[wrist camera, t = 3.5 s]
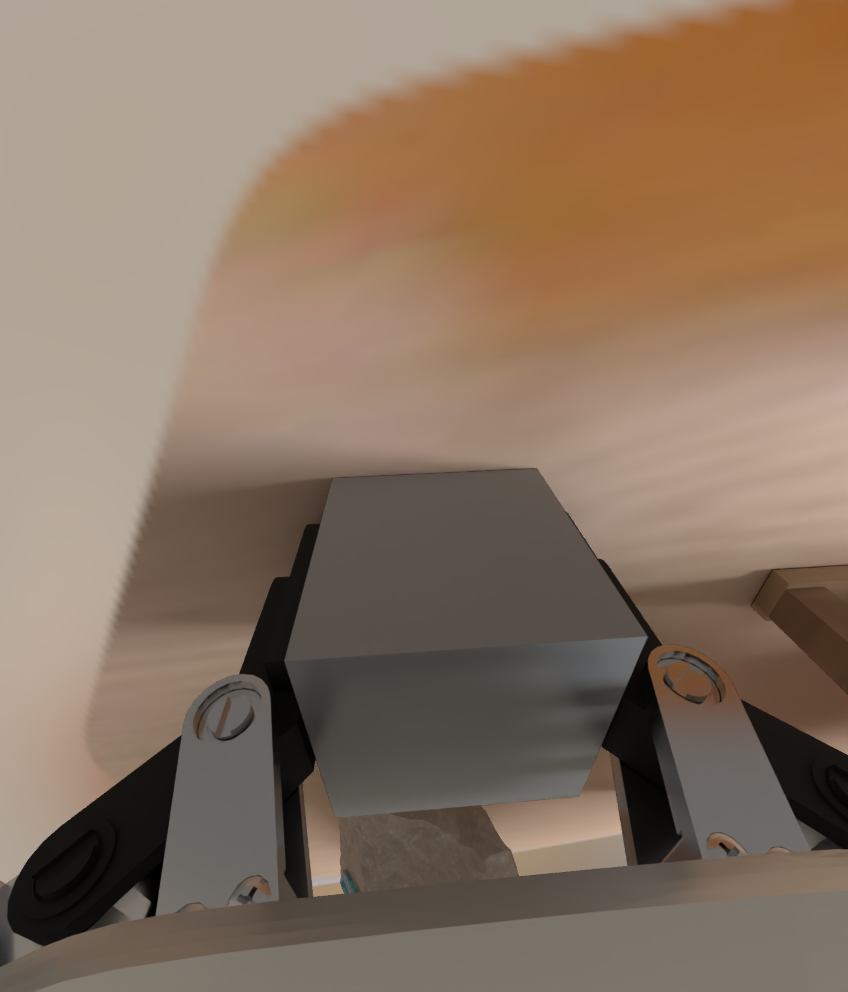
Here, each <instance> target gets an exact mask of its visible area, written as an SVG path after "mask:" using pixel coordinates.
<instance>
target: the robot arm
mask: <svg viewBox="0 0 848 992" xmlns="http://www.w3.org/2000/svg"><path fill="white" fill-rule="evenodd" d="M566 513H567V512H566ZM567 515H568V516H569V514H568V513H567ZM569 518H570V519H571V517H570V516H569ZM571 521H572V522H573V520H572V519H571ZM573 524H574V525H575V523H574V522H573ZM575 527H576V528H577V526H576V525H575ZM319 528H320V524H308V525H306V527H305V530H304V533H303V536H302V539H301V543H300V546H299V549H298V552H297V555H296V558H295V562H294V565H293V568H292V571H291V574H290V577H276V578H275V579H274V581H273V583H272V585H271V587H270V590H269V593H268V596H267V598H266V601H265V604H264V607H263V609H262V612H261V615H260V618H259V621H258V623H257V626H256V629H255V632H254V634H253V637H252V640H251V643H250V645H249V648H248V651H247V654H246V656H245V659H244V662H243V665H242V668H241V670H240V673H239V675H234V676H229V677H227V678H224V679H222V680H220V681H217V682H216V683H214V684H213V685H211V686H210V687H209V688H207V689H206V690H205V691H204V692H203V693H202V694H201V695H200V696H199V697H198V698H197V699H196V700H195V701H194V703H193V704H192V706H191V707H190V709H189V711H188V712H187V715H186V718H185V721H184V724H183V730H182V735H181V736H180V737H178V738H177V739H176V740H174V741H173V742H172V743H170V744H169V745H168V746H166V747H165V748H164V749H162V750H161V751H160V752H158V753H157V754H156V755H154V756H153V757H152V758H150V759H149V760H148V761H146V762H145V763H144V764H142V765H141V766H140V767H139V768H137V769H136V770H135V771H133V772H132V773H131V774H129V775H128V776H127V777H125V778H124V779H123V780H121V781H120V782H119V783H117V784H116V785H115V786H113V787H112V788H111V789H109V790H108V791H107V792H105V793H104V794H103V795H101V796H100V797H99V798H97V799H96V800H95V801H94V802H92V803H91V804H90V805H88V806H87V807H86V808H84V809H83V810H82V811H80V812H79V813H78V814H76V815H75V816H74V817H72V818H71V819H70V820H68V821H67V822H66V823H65V824H63V825H62V826H60V827H59V828H58V829H57V830H56V831H55V832H54V833H53V834H51V835H50V836H49V837H48V838H47V839H46V840H45V841H44V842H43V843H42V844H41V845H40V846H39V847H38V849H37V850H36V851H35V852H34V853H33V854H32V856H31V857H30V858H29V859H28V861H27V862H26V864H25V865H24V867H23V869H22V870H21V872H20V874H19V875H18V876H16V877H15V878H13V879H12V880H11V881H9V882H8V883H6V884H5V883H3V882H2V881H0V992H848V755H846V754H844V753H842V752H841V751H839V750H837V749H835V748H833V747H831V746H829V745H827V744H825V743H823V742H821V741H819V740H818V739H816V738H814V737H812V736H810V735H808V734H806V733H804V732H802V731H800V730H798V729H796V728H795V727H793V726H791V725H789V724H787V723H785V722H783V721H781V720H779V719H777V718H775V717H773V716H772V715H770V714H768V713H766V712H764V711H762V710H760V709H758V708H756V707H754V706H752V705H750V704H749V703H747V702H745V701H743V700H741V699H740V698H739V696H738V694H737V691H736V689H735V687H734V685H733V683H732V682H731V680H730V678H729V677H728V675H727V674H726V672H725V671H724V670H723V669H722V668H721V667H720V666H719V665H718V664H717V663H715V662H714V661H713V660H711V659H710V658H708V657H707V656H705V655H704V654H702V653H700V652H698V651H696V650H693V649H691V648H688V647H684V646H680V645H668V644H667V645H663V646H662V644H661V643H660V641H659V640H658V638H657V637H656V635H655V634H654V632H653V631H652V629H651V628H650V626H649V625H648V623H647V622H646V621H645V619H644V618H643V616H642V615H641V613H640V612H639V610H638V609H637V607H636V606H635V604H634V603H633V601H632V600H631V599H630V597H629V596H628V594H627V593H626V591H625V590H624V588H623V587H622V585H621V584H620V582H619V581H618V579H617V578H616V577H615V575H614V574H613V572H612V571H611V569H610V568H609V566H608V565H607V564H606V563H605V561H604V560H602V559H598V558H597V557H596V555H595V554H594V552H593V551H592V549H591V548H590V546H589V545H588V543H587V542H586V540H585V539H584V537H583V536H582V534H581V533H580V531H579V530H578V528H577V530H578V531H579V533H580V534H581V536H582V537H583V539H584V540H585V542H586V543H587V545H588V546H589V548H590V549H591V551H592V553H593V554H594V556H595V557H596V559H597V560H598V562H599V563H600V565H601V566H602V568H603V569H604V571H605V572H606V574H607V575H608V577H609V578H610V580H611V581H612V583H613V584H614V586H615V587H616V589H617V590H618V592H619V593H620V595H621V596H622V598H623V600H624V601H625V603H626V604H627V606H628V607H629V609H630V610H631V612H632V613H633V615H634V616H635V618H636V619H637V621H638V622H639V624H640V625H641V627H642V628H643V630H644V631H645V633H646V634H647V636H648V637H647V639H646V642H645V644H644V646H643V649H642V651H641V653H640V656H639V658H638V660H637V663H636V665H635V667H634V670H633V672H632V675H631V677H630V679H629V682H628V684H627V686H626V689H625V691H624V693H623V696H622V698H621V700H620V703H619V705H618V707H617V710H616V712H615V714H614V717H613V719H612V721H611V724H610V726H609V728H608V731H607V733H606V735H605V738H604V740H603V742H602V747H603V748H604V749H606V750H607V751H609V752H610V759H611V765H612V772H613V778H614V784H615V790H616V797H617V803H618V809H619V816H620V822H621V828H622V834H623V841H624V847H625V853H626V859H627V866H623V867H613V868H601V869H591V870H580V871H570V872H560V873H549V874H539V875H530V876H518V877H508V878H498V879H487V880H477V881H467V882H457V883H446V884H436V885H426V886H416V887H406V888H396V889H386V890H377V891H367V892H357V893H347V894H337V895H328V896H318V897H313V890H312V880H311V869H310V859H309V848H308V838H307V827H306V817H305V806H304V796H303V785H302V782H303V781H304V780H305V779H306V778H307V777H308V776H309V775H310V774H311V773H312V772H313V771H314V764H315V761H316V757H315V754H314V751H313V748H312V745H311V742H310V739H309V736H308V733H307V730H306V727H305V724H304V720H303V717H302V714H301V711H300V708H299V705H298V702H297V699H296V696H295V693H294V690H293V687H292V683H291V680H290V677H289V674H288V671H287V668H286V665H285V662H284V660H285V657H286V653H287V649H288V645H289V641H290V638H291V634H292V630H293V626H294V623H295V619H296V615H297V611H298V607H299V604H300V600H301V596H302V592H303V588H304V585H305V581H306V577H307V573H308V569H309V566H310V562H311V558H312V554H313V551H314V547H315V543H316V539H317V535H318V532H319Z"/></svg>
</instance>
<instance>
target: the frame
mask: <svg viewBox="0 0 848 992" xmlns="http://www.w3.org/2000/svg"><path fill="white" fill-rule="evenodd" d="M751 607H752V608H753V609H754V610H755V611H756V612H757V613H758V614H759V615H760V616H761V617H762V618H763V619H764V620H765V621H773V622H774V623H775V624H776V625H777V626H778V627H779V628H780V629H781V630H782V631H783V632H784V633H785V634H787V635H788V636H789V637H790V638H791V639H792V640H793V641H794V642H795V643H796V644H797V645H798V646H799V647H800V648H801V649H802V650H803V651H804V652H805V653H806V654H807V655H808V656H809V657H810V658H811V659H812V660H813V661H814V662H815V663H816V664H817V665H818V666H819V667H820V668H821V669H822V670H823V671H824V672H825V673H826V674H827V675H828V676H830V677H831V678H832V679H833V680H834V681H835V682H836V683H837V684H838V685H839V686H840V687H841V688H842V689H843V690H844V691H845V692H846V693H847V694H848V566H832V567H815V568H799V569H782V570H772V572H771V574H770V575H769V577H768V579H767V580H766V582H765V584H764V585H763V587H762V589H761V590H760V592H759V594H758V595H757V597H756V599H755V600H754V602H753V604H752V605H751Z"/></svg>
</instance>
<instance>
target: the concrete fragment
mask: <svg viewBox="0 0 848 992" xmlns="http://www.w3.org/2000/svg"><path fill="white" fill-rule="evenodd" d="M339 828H340V850H341V858H340V865H341V879H340V884H341V886H342V889H343V892H344V894H347V893H357V892H367V891H377V890H386V889H396V888H406V887H416V886H426V885H436V884H446V883H457V882H467V881H477V880H487V879H498V878H508V877H518V876H519V875H518V871H517V867H516V864H515V861H514V858H513V855H512V852H511V850H510V849H509V848H508V847H507V846H506V845H505V844H504V842H503V841H502V840H501V838H500V837H499V835H498V833H497V832H496V830H495V828H494V826H493V824H492V823H491V821H490V819H489V817H488V815H487V813H486V811H485V810H484V809H483V808H482V807H481V806H480V805H476V806H465V807H453V808H442V809H430V810H419V811H408V812H396V813H385V814H373V815H362V816H351V817H340V820H339Z"/></svg>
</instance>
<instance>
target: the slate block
mask: <svg viewBox="0 0 848 992" xmlns="http://www.w3.org/2000/svg"><path fill="white" fill-rule="evenodd" d="M647 637H648V636H647V634H646V633H645V631H644V630H643V628H642V627H641V625H640V624H639V622H638V621H637V619H636V618H635V616H634V615H633V613H632V612H631V610H630V609H629V607H628V606H627V604H626V603H625V601H624V600H623V598H622V596H621V595H620V593H619V592H618V590H617V589H616V587H615V586H614V584H613V583H612V581H611V580H610V578H609V577H608V575H607V574H606V572H605V571H604V569H603V568H602V566H601V565H600V563H599V562H598V560H597V559H596V557H595V556H594V554H593V553H592V551H591V549H590V548H589V546H588V545H587V543H586V542H585V540H584V539H583V537H582V536H581V534H580V533H579V531H578V530H577V528H576V527H575V525H574V524H573V522H572V521H571V519H570V518H569V516H568V515H567V513H566V512H565V510H564V509H563V507H562V506H561V504H560V503H559V501H558V499H557V498H556V496H555V495H554V493H553V492H552V490H551V489H550V487H549V486H548V484H547V483H546V481H545V480H544V478H543V477H542V475H541V474H540V472H539V471H538V469H517V470H496V471H475V472H454V473H432V474H411V475H390V476H368V477H347V478H333V479H332V482H331V486H330V490H329V494H328V497H327V501H326V505H325V509H324V513H323V516H322V520H321V524H320V528H319V532H318V535H317V539H316V543H315V547H314V551H313V554H312V558H311V562H310V566H309V569H308V573H307V577H306V581H305V585H304V588H303V592H302V596H301V600H300V604H299V607H298V611H297V615H296V619H295V623H294V626H293V630H292V634H291V638H290V641H289V645H288V649H287V653H286V657H285V660H284V662H285V665H286V668H287V671H288V674H289V677H290V680H291V683H292V687H293V690H294V693H295V696H296V699H297V702H298V705H299V708H300V711H301V714H302V717H303V720H304V724H305V727H306V730H307V733H308V736H309V739H310V742H311V745H312V748H313V751H314V754H315V757H316V761H317V764H318V767H319V770H320V773H321V776H322V779H323V782H324V785H325V788H326V791H327V794H328V798H329V801H330V804H331V807H332V810H333V813H334V816H335V818H339V817H351V816H362V815H373V814H385V813H396V812H408V811H419V810H430V809H442V808H453V807H465V806H476V805H487V804H499V803H510V802H522V801H533V800H545V799H556V798H567V797H579V796H580V794H581V791H582V789H583V787H584V784H585V782H586V780H587V777H588V775H589V773H590V770H591V768H592V766H593V763H594V761H595V759H596V756H597V754H598V752H599V749H600V747H601V745H602V742H603V740H604V738H605V735H606V733H607V731H608V728H609V726H610V724H611V721H612V719H613V717H614V714H615V712H616V710H617V707H618V705H619V703H620V700H621V698H622V696H623V693H624V691H625V689H626V686H627V684H628V682H629V679H630V677H631V675H632V672H633V670H634V667H635V665H636V663H637V660H638V658H639V656H640V653H641V651H642V649H643V646H644V644H645V642H646V639H647Z"/></svg>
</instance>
